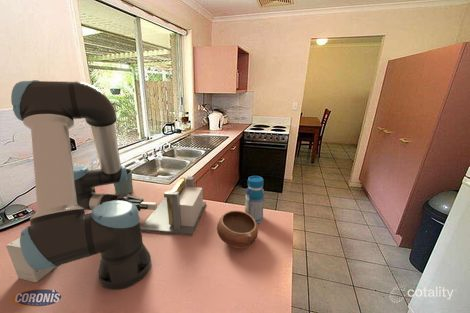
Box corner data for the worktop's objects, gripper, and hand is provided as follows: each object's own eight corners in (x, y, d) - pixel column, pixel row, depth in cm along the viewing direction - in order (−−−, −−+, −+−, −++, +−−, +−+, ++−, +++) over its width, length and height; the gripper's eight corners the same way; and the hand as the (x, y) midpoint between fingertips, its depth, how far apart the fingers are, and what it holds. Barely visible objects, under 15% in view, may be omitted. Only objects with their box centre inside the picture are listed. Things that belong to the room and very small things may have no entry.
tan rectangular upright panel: (187, 201, 107) (186, 177, 102) (173, 225, 88) (171, 197, 84) (182, 201, 107) (181, 177, 103) (168, 224, 89) (165, 197, 84)
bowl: (250, 260, 74) (252, 236, 71) (210, 248, 79) (209, 225, 76) (261, 233, 88) (262, 212, 85) (226, 224, 93) (226, 204, 90)
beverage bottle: (255, 226, 92) (257, 184, 85) (240, 218, 97) (241, 178, 91) (266, 218, 97) (269, 178, 91) (251, 211, 103) (254, 173, 96)
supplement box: (37, 283, 64) (24, 249, 60) (17, 278, 65) (4, 245, 61) (60, 264, 71) (51, 232, 67) (42, 260, 72) (32, 229, 68)
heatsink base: (205, 204, 108) (204, 172, 103) (192, 235, 85) (190, 197, 80) (163, 201, 110) (160, 170, 104) (139, 231, 87) (134, 193, 82)
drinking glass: (128, 186, 125) (125, 167, 121) (138, 191, 120) (135, 171, 116) (110, 192, 117) (107, 172, 113) (120, 198, 112) (116, 177, 108)
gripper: (115, 202, 102) (162, 205, 100) (95, 218, 89) (149, 222, 87) (112, 188, 99) (161, 191, 97) (92, 202, 87) (147, 206, 85)
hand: (155, 206), depth 92 cm, fingers closed
